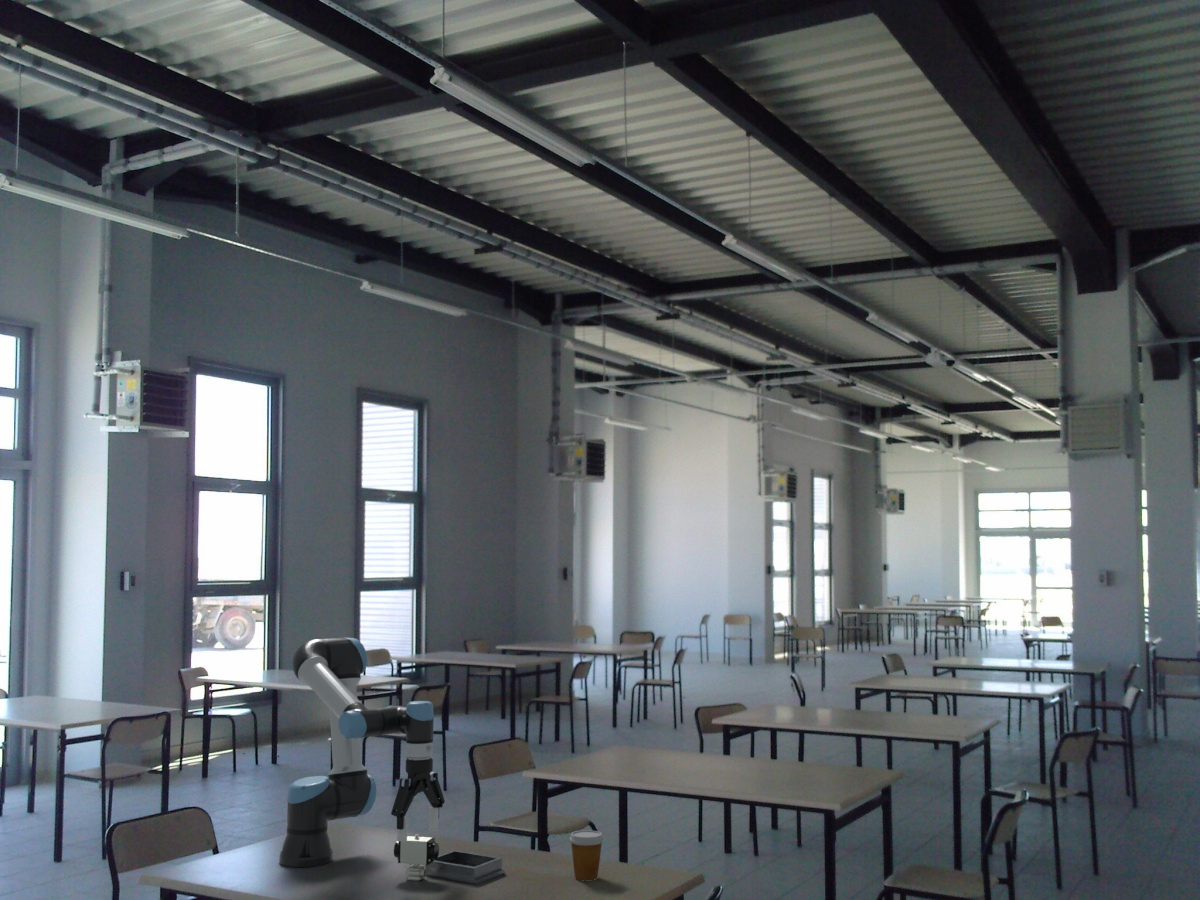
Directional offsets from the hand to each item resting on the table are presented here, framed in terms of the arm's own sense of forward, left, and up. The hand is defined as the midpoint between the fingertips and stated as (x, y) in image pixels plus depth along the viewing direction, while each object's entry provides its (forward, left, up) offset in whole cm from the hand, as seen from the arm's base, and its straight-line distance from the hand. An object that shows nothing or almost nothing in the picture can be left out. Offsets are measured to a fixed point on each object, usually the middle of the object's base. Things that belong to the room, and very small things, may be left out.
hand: (418, 836), depth 298 cm
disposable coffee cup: (+40, +25, -12) cm, 48 cm away
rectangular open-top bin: (+8, +11, -12) cm, 18 cm away
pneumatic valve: (0, 0, -12) cm, 12 cm away
